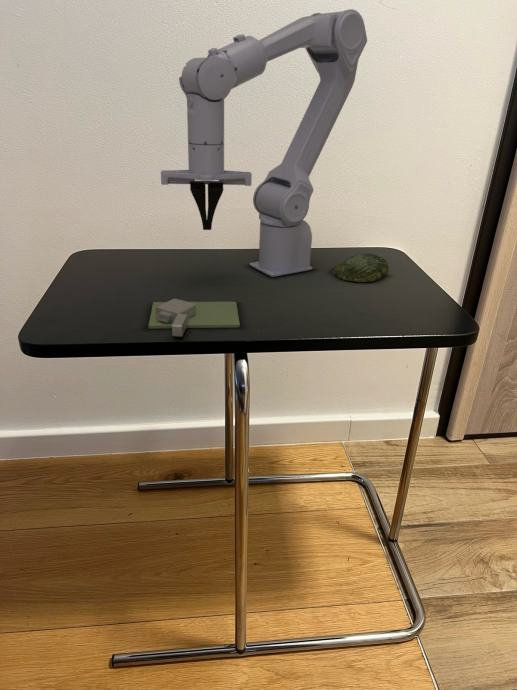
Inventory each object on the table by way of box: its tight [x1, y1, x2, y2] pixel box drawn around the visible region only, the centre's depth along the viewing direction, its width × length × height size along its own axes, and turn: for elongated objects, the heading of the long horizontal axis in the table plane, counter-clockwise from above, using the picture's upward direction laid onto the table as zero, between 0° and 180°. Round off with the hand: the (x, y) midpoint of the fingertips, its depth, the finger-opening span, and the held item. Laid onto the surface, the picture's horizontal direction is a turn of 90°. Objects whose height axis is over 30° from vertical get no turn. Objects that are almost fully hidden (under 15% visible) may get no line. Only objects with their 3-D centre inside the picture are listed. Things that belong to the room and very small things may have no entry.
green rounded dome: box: [332, 253, 389, 283], centre depth 101 cm, size 10×4×10 cm
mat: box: [148, 301, 241, 330], centre depth 82 cm, size 13×9×1 cm
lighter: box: [155, 298, 196, 338], centre depth 77 cm, size 7×2×8 cm
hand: (207, 228), depth 92 cm, fingers closed
